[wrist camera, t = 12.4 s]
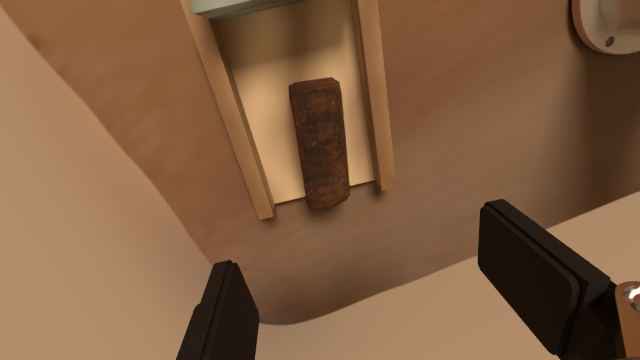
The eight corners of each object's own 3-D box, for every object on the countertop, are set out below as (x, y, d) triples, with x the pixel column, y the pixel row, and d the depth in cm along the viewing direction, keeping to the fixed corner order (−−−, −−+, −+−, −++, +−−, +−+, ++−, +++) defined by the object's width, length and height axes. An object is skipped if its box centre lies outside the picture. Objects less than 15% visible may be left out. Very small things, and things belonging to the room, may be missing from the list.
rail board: (360, -31, 23) (390, -62, 16) (384, 172, 30) (411, 206, 24) (195, 6, 22) (158, -10, 16) (262, 201, 30) (255, 243, 24)
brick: (286, 82, 24) (287, 90, 20) (332, 76, 25) (342, 82, 20) (304, 191, 29) (307, 216, 25) (343, 185, 29) (352, 209, 25)
